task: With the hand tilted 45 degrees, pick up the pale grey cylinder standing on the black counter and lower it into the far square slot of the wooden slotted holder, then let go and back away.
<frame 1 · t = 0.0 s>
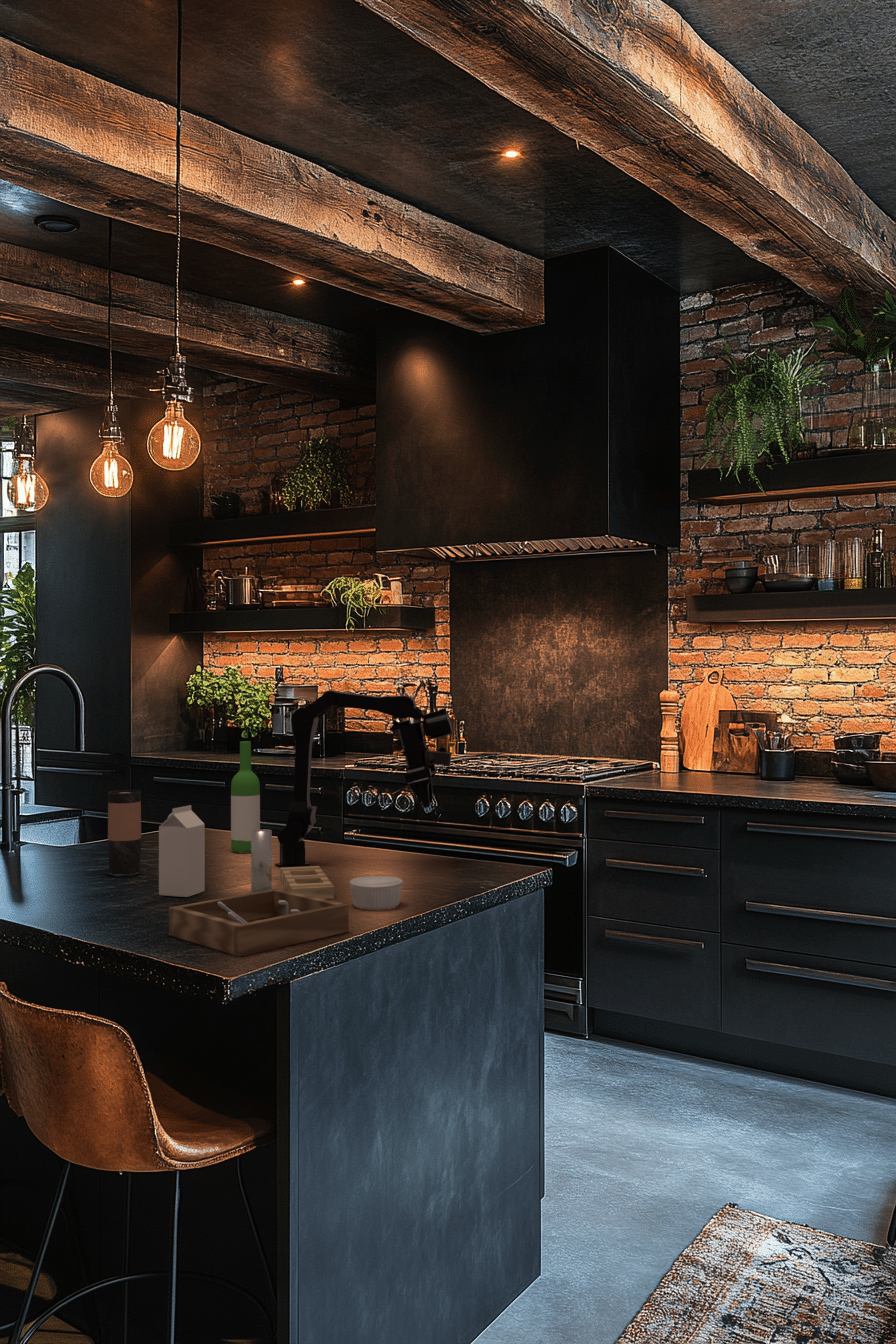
hand: (429, 804, 263), 15 cm above the table, tool pointing down, fingers open, 9 cm apart
wooden slotted holder: (306, 887, 237), on the table
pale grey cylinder: (261, 895, 229), on the table
travel mug: (124, 875, 254), on the table
wine bottle: (245, 852, 288), on the table
ramekin: (376, 907, 218), on the table
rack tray: (259, 933, 195), on the table
wall mount rack: (258, 935, 195), resting in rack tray
milk carton: (181, 894, 231), on the table
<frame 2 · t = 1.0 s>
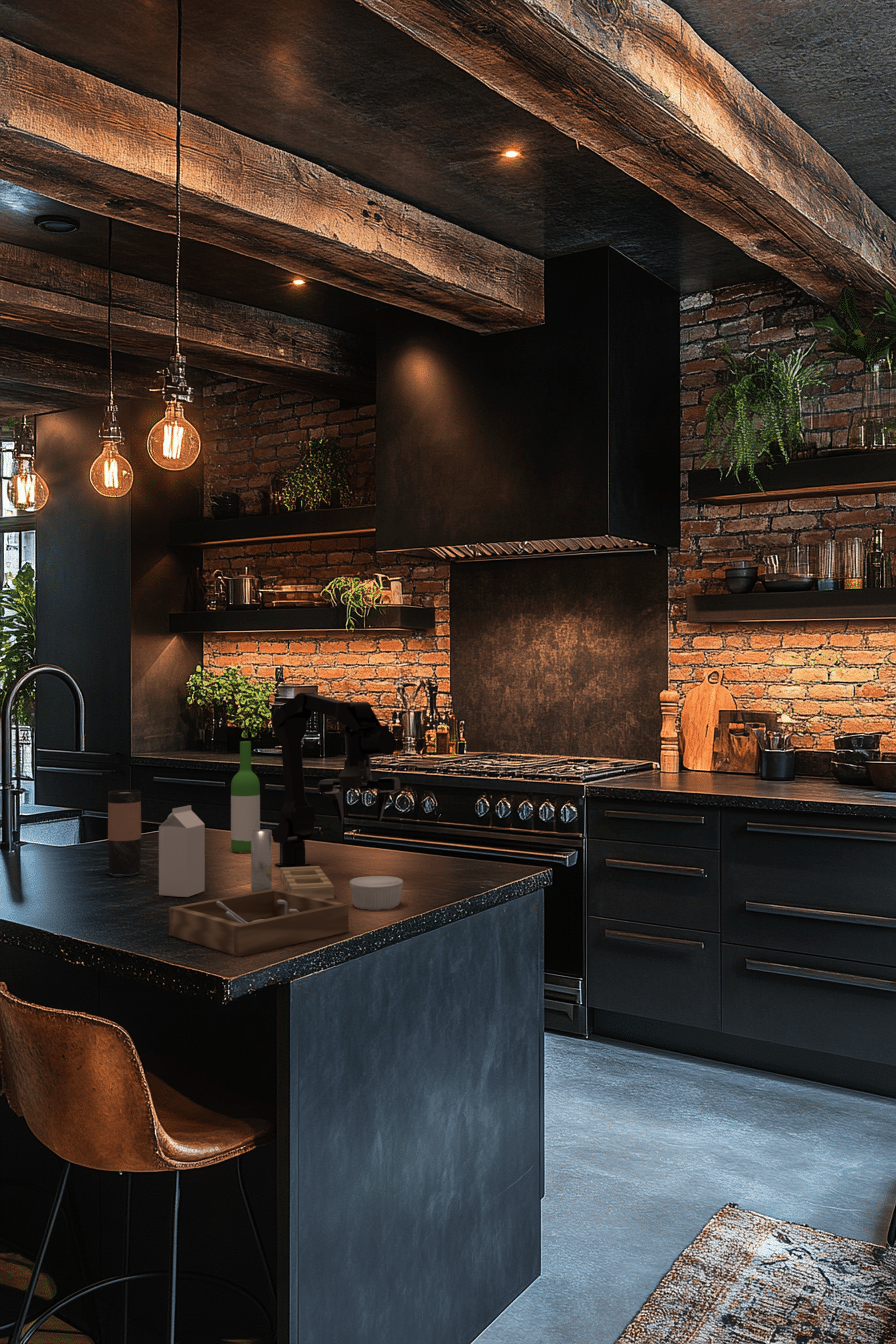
hand: (360, 821, 248), 13 cm above the table, tool pointing down, fingers open, 9 cm apart
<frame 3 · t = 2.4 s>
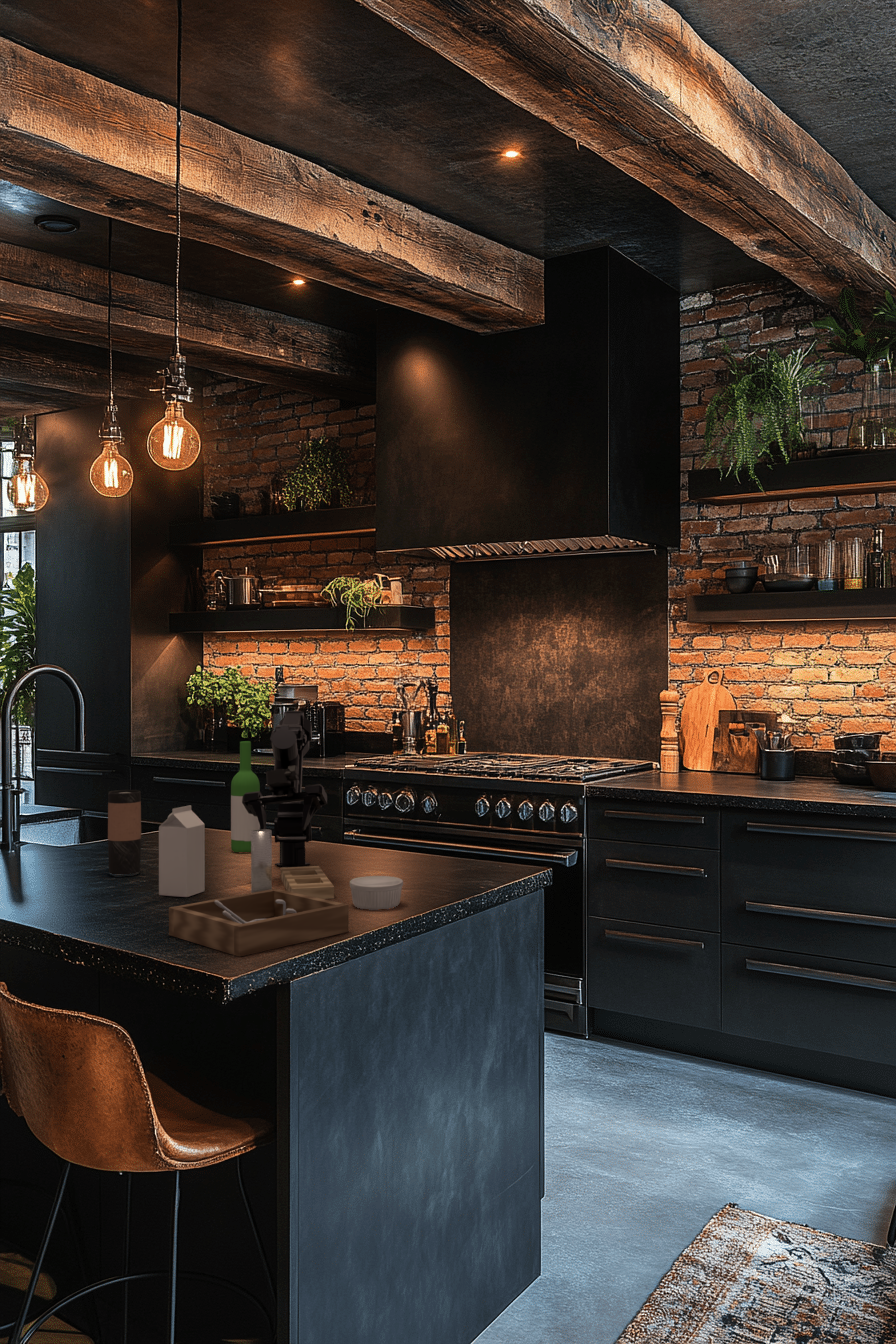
hand: (283, 831, 238), 12 cm above the table, tool tilted 35°, fingers open, 9 cm apart
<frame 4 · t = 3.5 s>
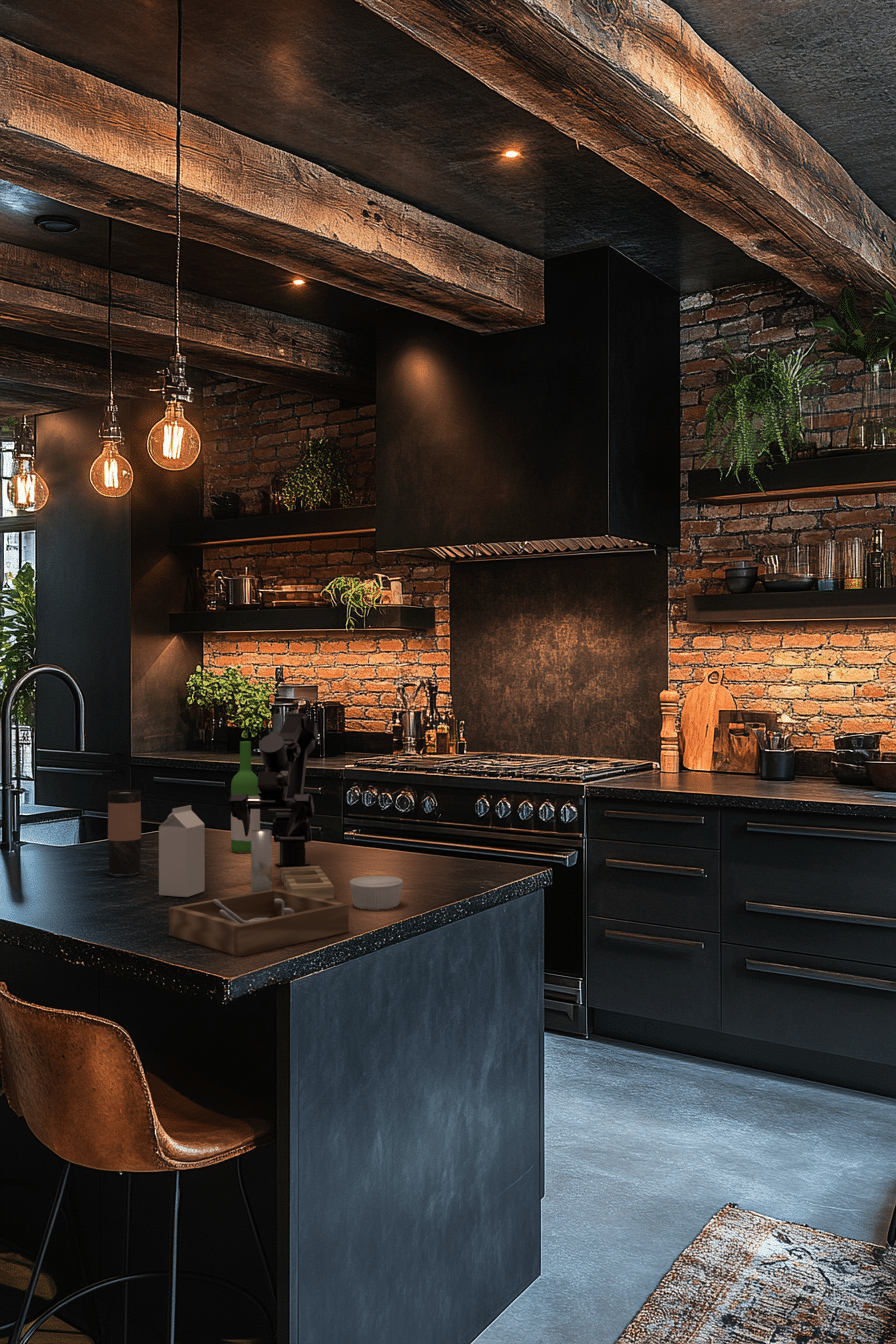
hand: (266, 835, 235), 12 cm above the table, tool tilted 45°, fingers open, 9 cm apart
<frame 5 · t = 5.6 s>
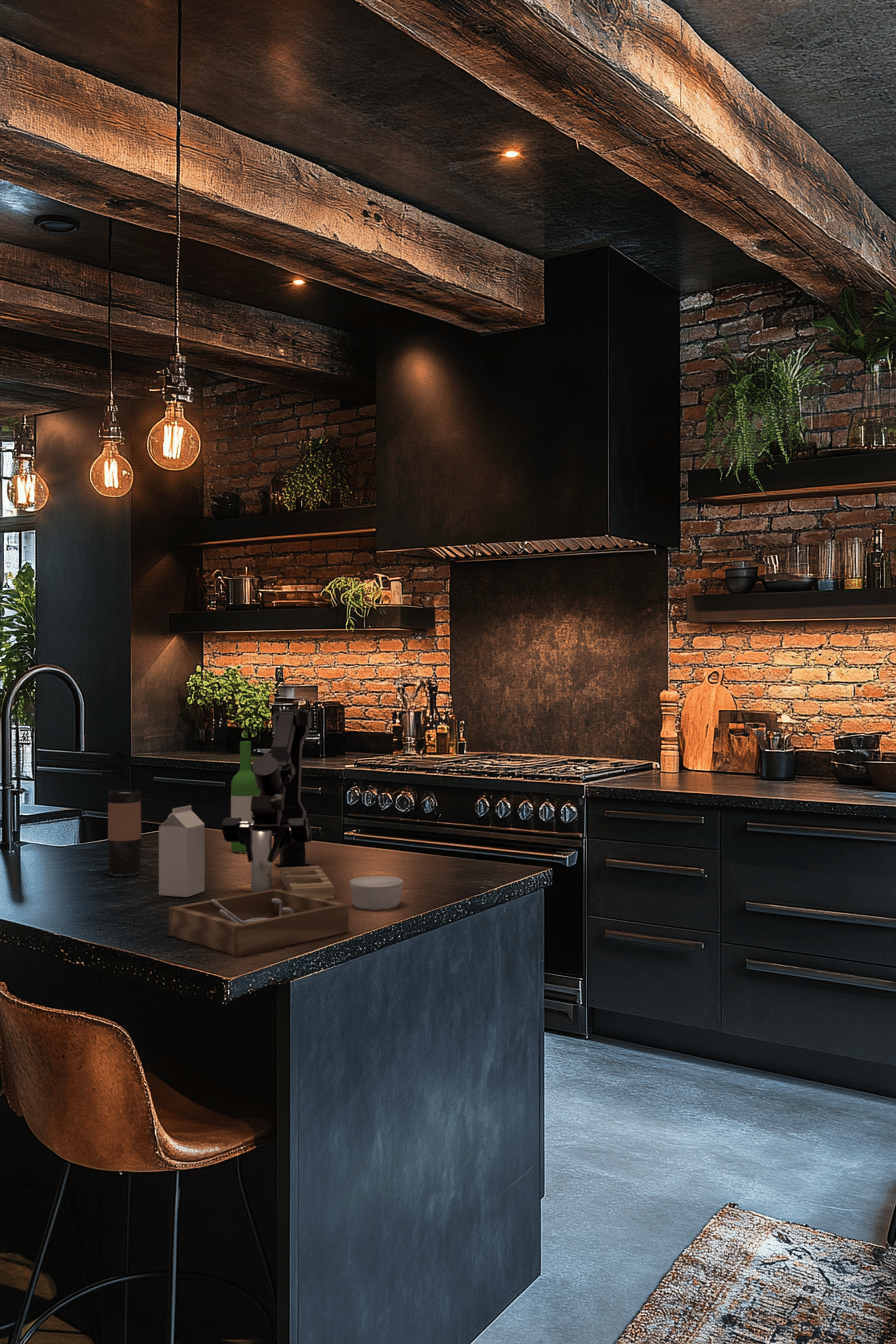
hand: (260, 861, 228), 8 cm above the table, tool tilted 45°, fingers closed on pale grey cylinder, 4 cm apart
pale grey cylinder: (261, 895, 229), on the table, touching gripper
when the fingers open (9 cm above the table, at t = 8.6 s): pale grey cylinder drops 1 cm, resting in wooden slotted holder.
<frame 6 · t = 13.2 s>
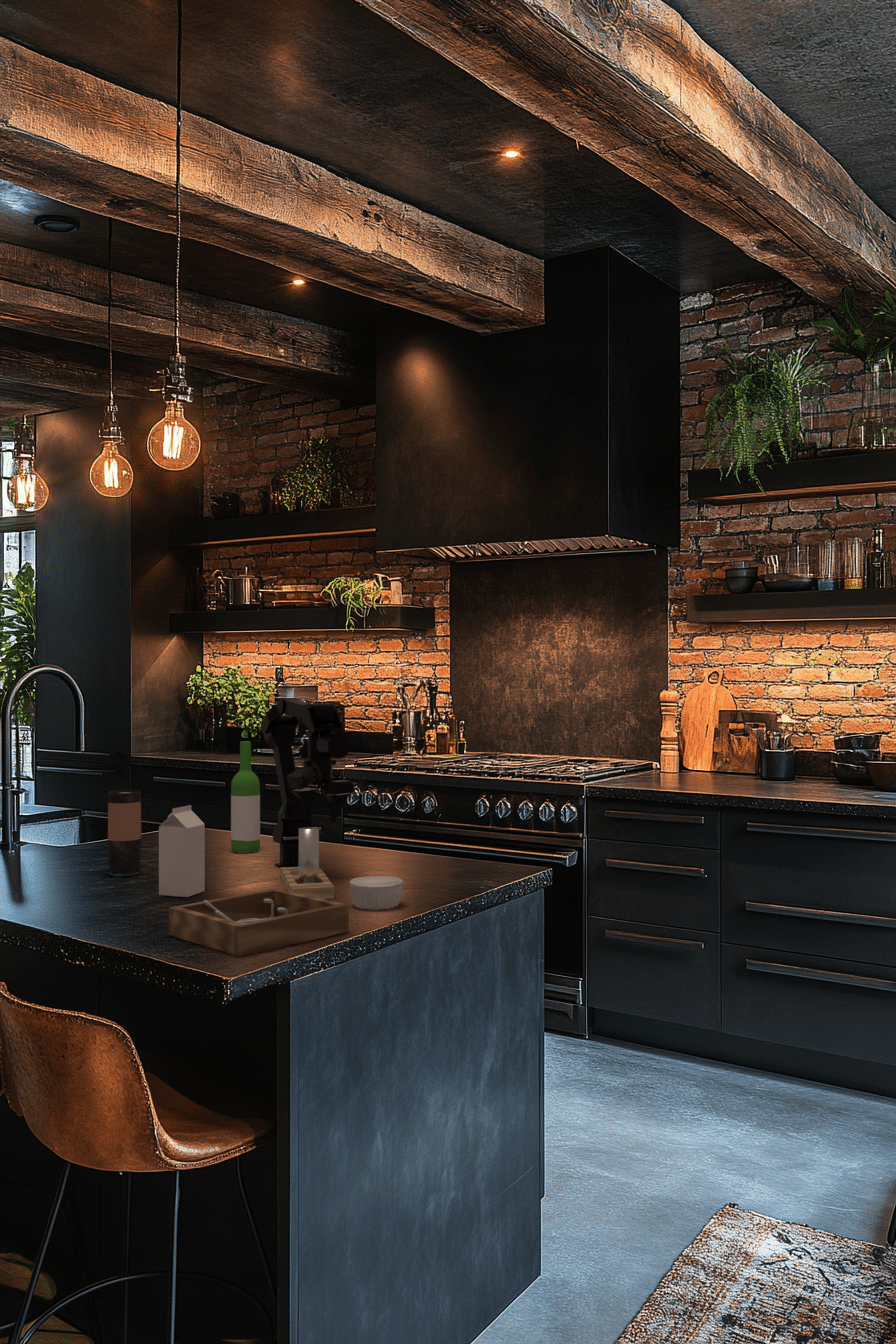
hand: (320, 821, 251), 13 cm above the table, tool pointing down, fingers open, 9 cm apart
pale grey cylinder: (308, 892, 232), resting in wooden slotted holder
wall mount rack: (245, 934, 196), resting in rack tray
everything else where it was.
at the end: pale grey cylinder 0.1 cm from the target spot, resting in wooden slotted holder; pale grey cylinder tilted 0°; the gripper is holding nothing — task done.
